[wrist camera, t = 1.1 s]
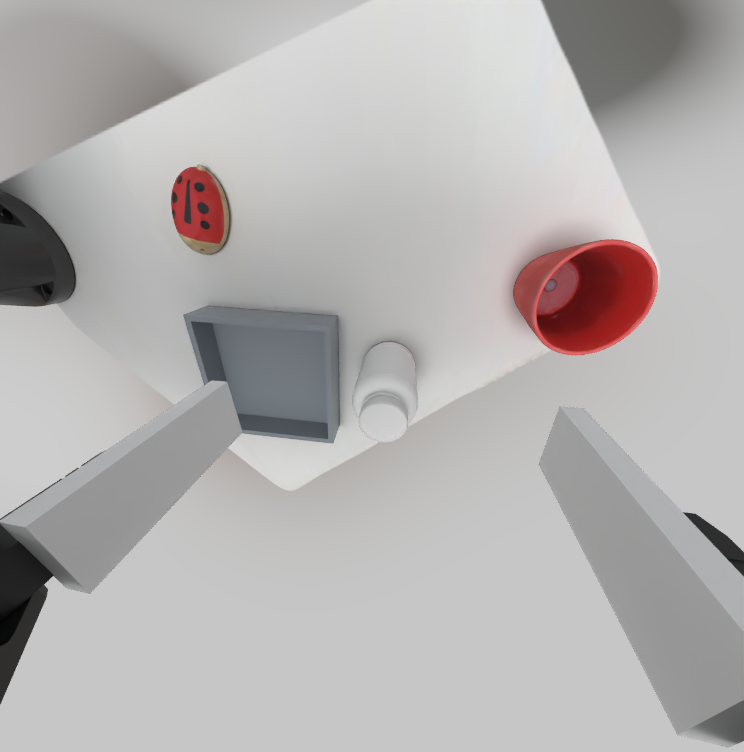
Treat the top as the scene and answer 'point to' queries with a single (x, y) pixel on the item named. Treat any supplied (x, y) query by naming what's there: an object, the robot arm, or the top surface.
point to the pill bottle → (386, 392)
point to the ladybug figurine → (200, 210)
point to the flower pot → (587, 295)
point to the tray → (272, 368)
